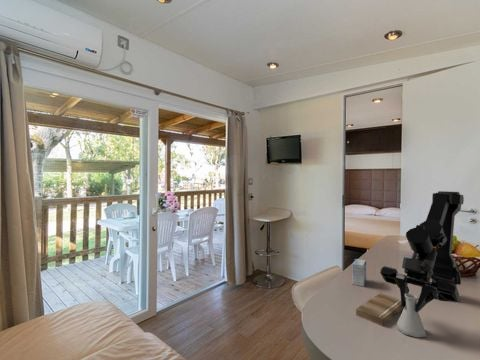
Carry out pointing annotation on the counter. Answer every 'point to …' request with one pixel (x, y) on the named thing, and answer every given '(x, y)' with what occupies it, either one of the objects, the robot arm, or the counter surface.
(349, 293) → the counter surface
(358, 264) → the medicine box
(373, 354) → the counter surface
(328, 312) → the counter surface
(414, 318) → the flask
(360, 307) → the walnut board
